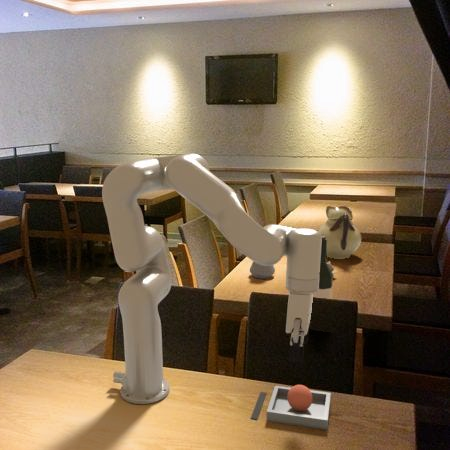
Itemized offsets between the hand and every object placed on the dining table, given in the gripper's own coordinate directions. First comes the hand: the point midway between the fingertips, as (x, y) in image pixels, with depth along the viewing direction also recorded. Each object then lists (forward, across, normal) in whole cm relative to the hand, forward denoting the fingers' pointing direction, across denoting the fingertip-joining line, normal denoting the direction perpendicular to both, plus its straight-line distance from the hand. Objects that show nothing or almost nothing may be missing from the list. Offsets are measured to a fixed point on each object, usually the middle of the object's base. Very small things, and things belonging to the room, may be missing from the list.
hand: (298, 351), depth 118 cm
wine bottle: (+16, -59, +1) cm, 61 cm away
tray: (+16, 0, +1) cm, 16 cm away
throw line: (+16, 0, -9) cm, 18 cm away
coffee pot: (+16, -108, -27) cm, 113 cm away
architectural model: (+16, -108, +1) cm, 109 cm away
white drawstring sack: (+16, -145, +4) cm, 146 cm away
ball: (+12, 0, +1) cm, 12 cm away
